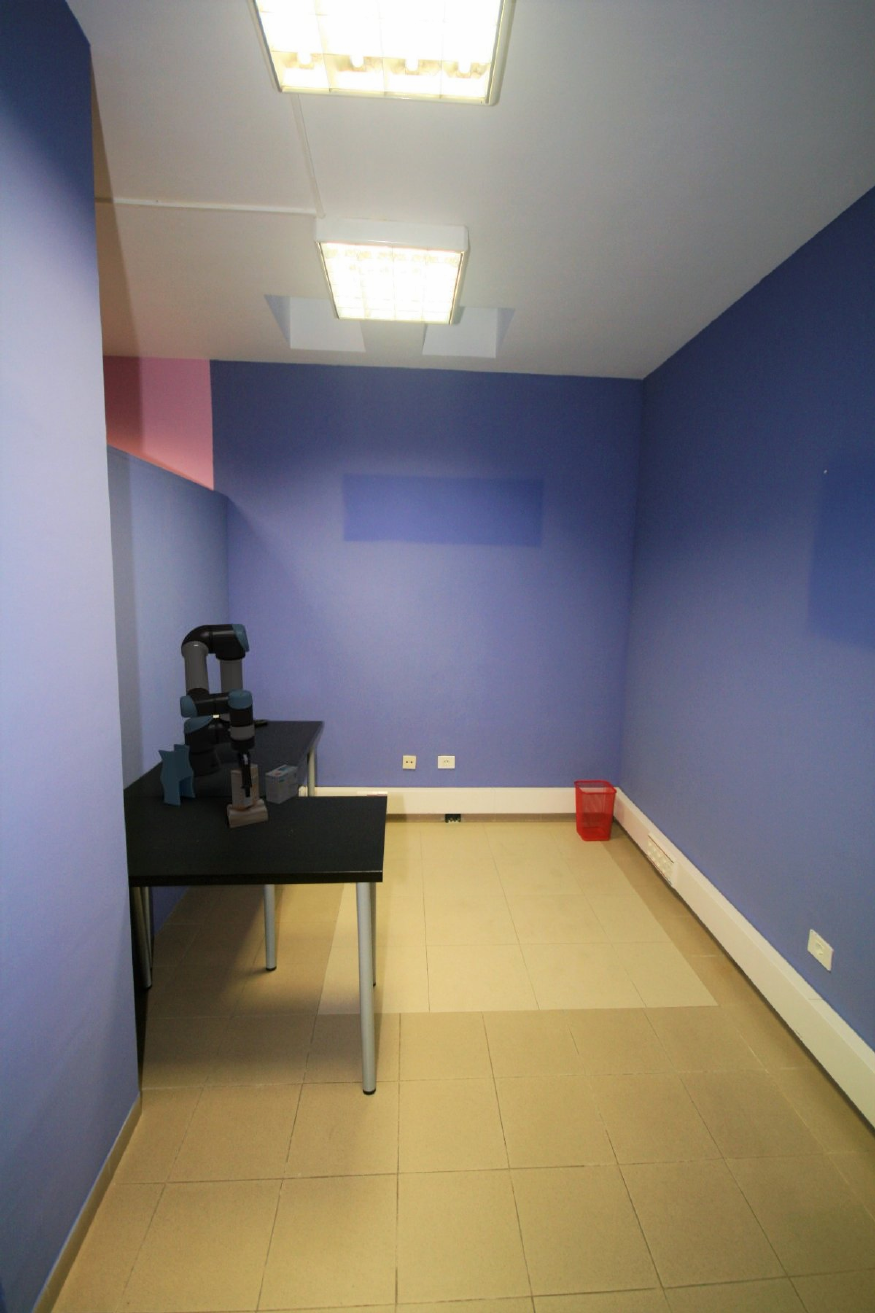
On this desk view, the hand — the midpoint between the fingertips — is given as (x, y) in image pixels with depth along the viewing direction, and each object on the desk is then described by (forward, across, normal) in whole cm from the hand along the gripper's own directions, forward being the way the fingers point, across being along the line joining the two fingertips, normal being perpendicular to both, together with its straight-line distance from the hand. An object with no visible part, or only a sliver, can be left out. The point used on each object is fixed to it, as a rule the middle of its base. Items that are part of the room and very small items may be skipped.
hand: (246, 800), depth 178 cm
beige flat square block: (+6, 0, 0) cm, 6 cm away
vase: (+7, -27, -21) cm, 35 cm away
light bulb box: (+7, -12, +14) cm, 20 cm away
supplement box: (+2, 0, 0) cm, 2 cm away
